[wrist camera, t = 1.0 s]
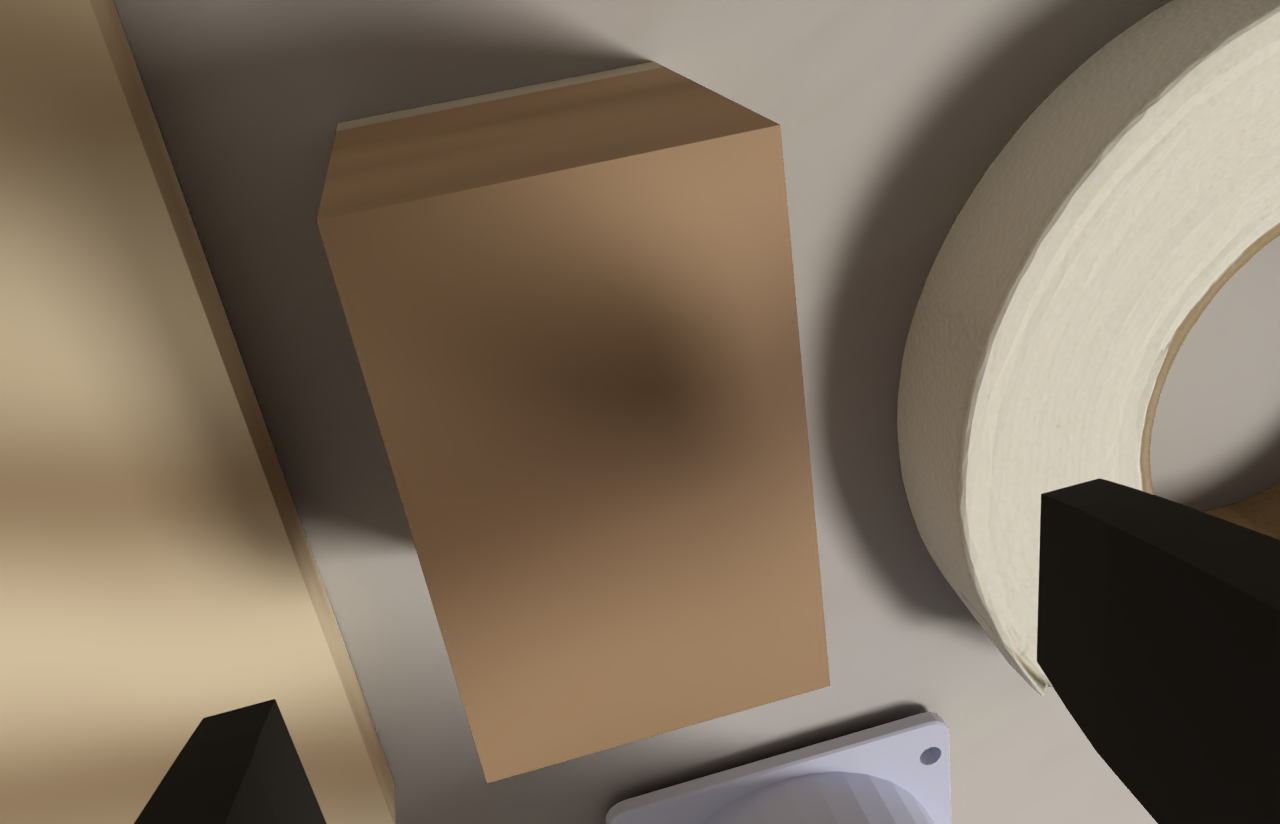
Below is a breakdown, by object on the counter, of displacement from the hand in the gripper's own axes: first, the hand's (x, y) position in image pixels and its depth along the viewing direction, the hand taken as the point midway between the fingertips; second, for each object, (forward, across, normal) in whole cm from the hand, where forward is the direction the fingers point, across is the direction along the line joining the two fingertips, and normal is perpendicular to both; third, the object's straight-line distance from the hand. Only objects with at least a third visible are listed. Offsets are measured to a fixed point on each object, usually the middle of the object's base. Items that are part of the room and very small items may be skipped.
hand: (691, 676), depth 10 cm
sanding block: (+10, 0, 0) cm, 10 cm away
